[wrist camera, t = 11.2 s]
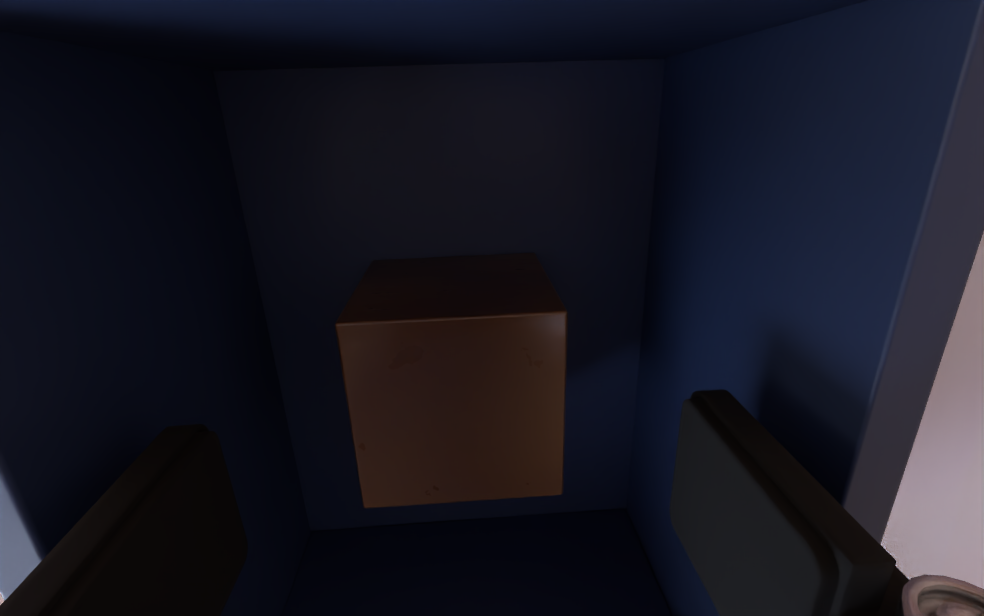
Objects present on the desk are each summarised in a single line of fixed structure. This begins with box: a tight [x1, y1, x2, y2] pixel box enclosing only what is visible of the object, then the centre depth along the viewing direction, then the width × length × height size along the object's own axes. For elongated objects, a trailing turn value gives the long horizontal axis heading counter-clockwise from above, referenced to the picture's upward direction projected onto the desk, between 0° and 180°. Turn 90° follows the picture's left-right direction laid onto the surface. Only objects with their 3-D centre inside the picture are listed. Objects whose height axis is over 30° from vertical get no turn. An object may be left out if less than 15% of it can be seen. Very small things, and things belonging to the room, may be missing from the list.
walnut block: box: [335, 253, 568, 509], centre depth 14 cm, size 5×5×5 cm
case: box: [0, 0, 984, 616], centre depth 12 cm, size 17×14×10 cm
